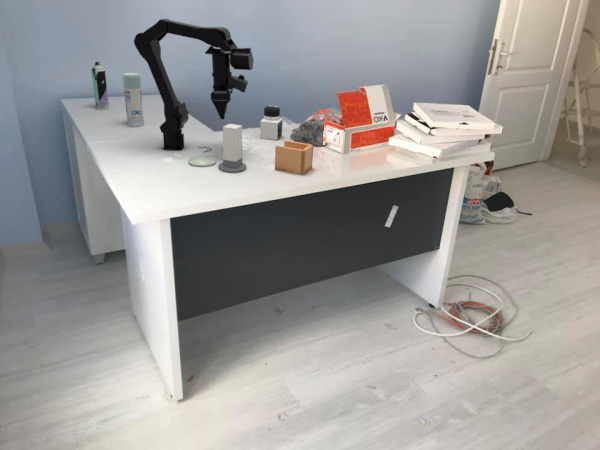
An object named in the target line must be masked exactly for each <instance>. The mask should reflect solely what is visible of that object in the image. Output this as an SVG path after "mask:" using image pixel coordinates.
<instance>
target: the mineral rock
mask: <svg viewBox="0 0 600 450" xmlns="http://www.w3.org/2000/svg"><path fill="white" fill-rule="evenodd" d="M324 122H325V121H321V120H319V119H317V118H314V117H312V118H311V119H309V120H307V121H304V122H303V123H301V124H300V125H299V126H298V127H295V128H293V129H292V130H291V133H292V134H290V135H289V138H290V140H292V141H294V142H300V143H305V144H311V145H315V146H319V147H324V146H323V131H324Z"/></svg>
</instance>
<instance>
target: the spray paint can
mask: <svg viewBox="0 0 600 450" xmlns="http://www.w3.org/2000/svg"><path fill="white" fill-rule="evenodd" d="M122 80H123V81H122V83H123V91H124V102H125V112H126V122H127V126H128V127H130V128H131V127H132V128H140V127H143V126H144V123H145V122H144V107H143V106H144V105H143V95H142V82H141V74H140V73H137V72H125V73H122Z"/></svg>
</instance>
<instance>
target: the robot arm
mask: <svg viewBox="0 0 600 450" xmlns="http://www.w3.org/2000/svg"><path fill="white" fill-rule="evenodd" d="M168 34H169V35H170V34H172V35H176V36H182V37H184V38H185V37H186V38H191V39H195V40H199V41H201V42H203V43H204V44H207V45H209V47H208V49H207V50H206V51H205V52H204V53H205V54H206V55H211V61H212V62H211V64H212V72H211V76H212V82H213V84H212V91H211V92H210V100H211V102H212V104H213V106H214V107H215V110H216V112H217V113H218V116H219V118H220V120H225V117H226V113H227V108H228V104H229V103H230V102H231V100H232V94H233V91H234V90H238V91H240V92H241V93H245V92H246V90H247V86H248V84H249V82H248V80H247V79H246V78H245V75H243V74H239V75H238V76H235V75H232V70H231V68H233V69H234V70H238V71H239V70H241V71H252V70H253V68H254V57H253V53H252V48H251V47H245V48H244V47H238V46H237V45H236V43H235V42H234V40H233V39H232V36H231V35H232V34H231V32H230V31H229V29H228V28H226V27H223V26H199V25H194V24H191V23H184V22H180V21H175V20H170V19H169V18H161V19H159V20H157V22H155V23H154V24H153V25H152V26H150V27H149V28H147V29H146V30H145V31H143V32H138V33H137V34H136V35H135V36H134V40H133V45H134V46H135V49H136V51H138V53H139V55H140V56H141V57H142V59H144V60H145V62H146V63H147V65H148V68H149V70H150V73H151V75H152V77H153V78H152V79H153V81H154V82H155V85H156V88H157V90H158V92H159V95H160V98H161V100H162V103H163V115H164V119H165V121H164V122H163V123H162V124H161V125H160V126H159V129H160V132H161V133H162V137H163V147H162V150H173V151H174V150H178V151H179V150H180V151H182V150H183V147H185V135H184V133H183V129H184V127H185V124H187V123H188V120H189V114H190V112H189V111H188V108H187V105H186V103H185V102H182V103H181V102H180V100H178V98H177V96H176V94H175V91H174V88H173V86H172V83H171V80H170V77H169V75H168V73H167V70H166V68H165V65H164V62H163V60H162V56H161V55H162V48H161V45H160V42H161V41H162V40H163V39H164V38H165V37H166V36H167V35H168Z"/></svg>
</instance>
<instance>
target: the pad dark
mask: <svg viewBox="0 0 600 450" xmlns="http://www.w3.org/2000/svg"><path fill="white" fill-rule="evenodd" d="M217 168H218V170H219V171H221V172H223V173H231V174H232V173H233V174H234V173H235V174H236V173H241V172H244V171H246V170H247V164H246V163H244V162H242V165H241V166H240V167H238V168H237V169H233V168H228V167H223V161H222V162H220V163H219V164H218V167H217Z"/></svg>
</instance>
